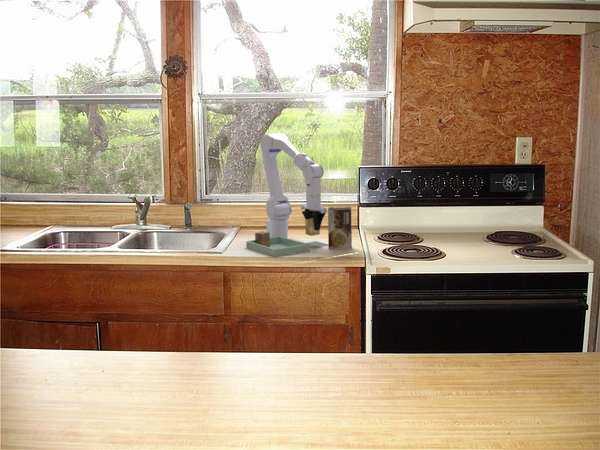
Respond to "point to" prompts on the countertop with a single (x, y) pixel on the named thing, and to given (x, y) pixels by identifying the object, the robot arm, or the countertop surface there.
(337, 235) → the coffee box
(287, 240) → the bin
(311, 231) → the oak block
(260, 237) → the walnut block
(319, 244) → the mat
